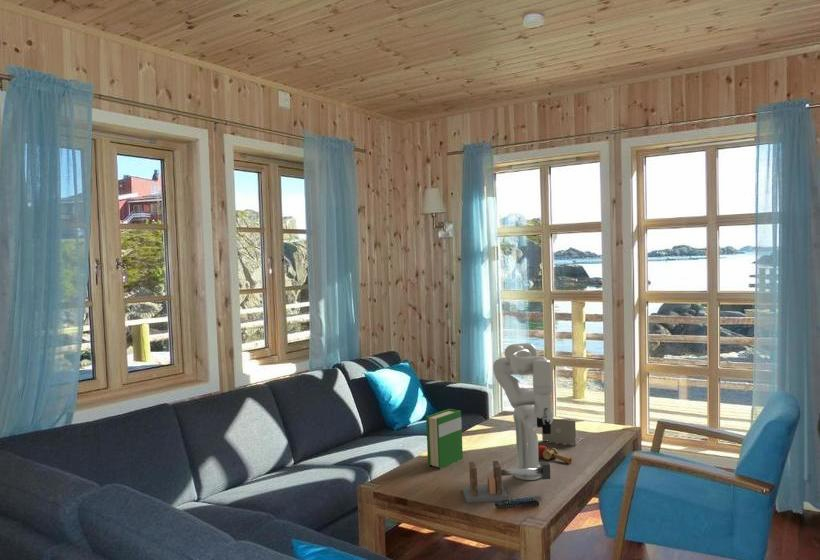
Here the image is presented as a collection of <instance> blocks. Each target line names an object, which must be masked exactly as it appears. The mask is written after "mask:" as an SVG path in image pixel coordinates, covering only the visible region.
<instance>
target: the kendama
mask: <svg viewBox="0 0 820 560" xmlns="http://www.w3.org/2000/svg"><path fill="white" fill-rule="evenodd" d="M538 455H539V458H540V459H545V460H550V459H557V460H559V461H562V462H564V463H566V464H568V465H570V464H572V461H573V460H572V459H573V458H572V457H571V456H565V455H563V454H559V451H558V450H557V448H554V447H552V448H548V447H547V446H545V445H538Z"/></svg>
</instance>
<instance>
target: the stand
mask: <svg viewBox="0 0 820 560" xmlns="http://www.w3.org/2000/svg"><path fill="white" fill-rule="evenodd" d="M468 466H469V467H468V468H469V486H470V489H471V492H472V495H473V496H478V491H477V486H478V471H477V470H478V469H477V466H476V464H475V462H474V461H470V462H468ZM492 469H493V473H492V474H493V475H494V478H495V486H496V493H497V495H498V494H502V485H503V484H502V483H503V482H502V476H501V470H502V466H501V464H500V462H499V461H498V460H493V461H492Z"/></svg>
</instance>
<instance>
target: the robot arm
mask: <svg viewBox="0 0 820 560" xmlns="http://www.w3.org/2000/svg"><path fill="white" fill-rule="evenodd" d="M492 366H493V367H492V369H493V375H494V377H495V379H496V381H497V383H498V384H499V385H500V386H501V388H502V389H503V391H504V393H505V395H506V397H507V400H508V402H509V403H510V405H511V407H512V409H514V410H513V411H512V415H513V416H512V417H513V421H514V427H515V438H516V439H515V443H516V467H517V468H516V469H524V468H541V466H540V464H539V463H540V461H539V458H540V457H539V455H538V447H539V435H538V434H537V432H536V431H535V430H534V429H533V427H536V428H542V427H543V434H551V423H552V421H553V419H554V411H553V409H552V407H551V405H552V404H551V394H553V388H552V387H553V385H552V384H553V382H552V381H553V380H552V363H551V360H550V359H548V358H546V357H545V356H543V355H538V353H537V348H536V347H535V345H534V344H532V343H530V342H529V343H528V342H525V343H513V344H510V345H508V346H506V347H505V350H504V357H500V358H498V359H495V361H493V365H492ZM515 375H518V376H519V375H520V376H526V375H532V387H524V386H523V385H522V384H523V383H521V381H520V380H519V379H517V378H516V377H515ZM513 476H514V477H515V478H516V479H518V480H519V479H520V480H524V481H535V480H540V479H542V477H541V474H526V475H513Z"/></svg>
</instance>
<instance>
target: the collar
mask: <svg viewBox="0 0 820 560" xmlns="http://www.w3.org/2000/svg"><path fill="white" fill-rule="evenodd" d="M486 477H487V478H486V480H487V485H488V491H489V493H490V494H496V486H495V478H494V474H493V473H488V474H486Z"/></svg>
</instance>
